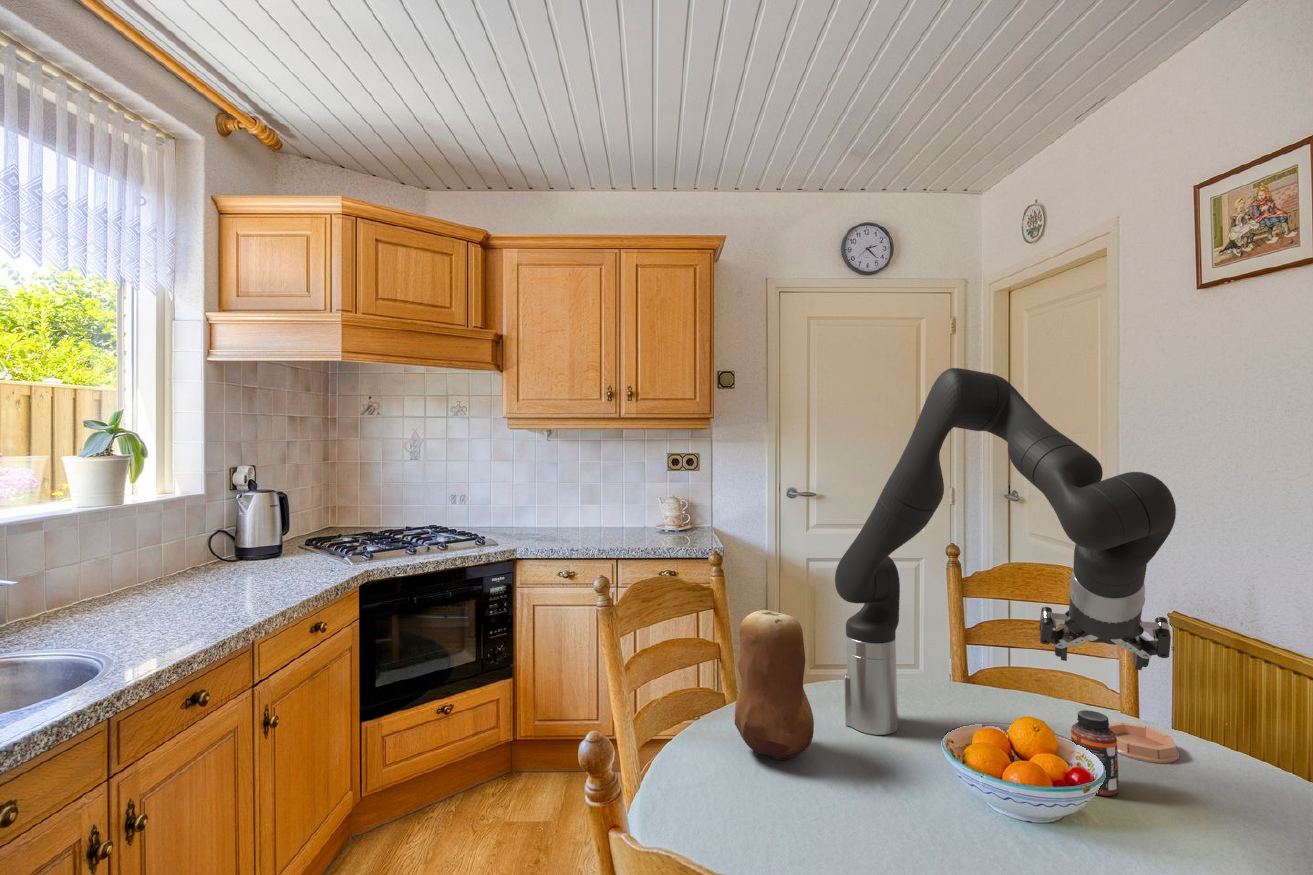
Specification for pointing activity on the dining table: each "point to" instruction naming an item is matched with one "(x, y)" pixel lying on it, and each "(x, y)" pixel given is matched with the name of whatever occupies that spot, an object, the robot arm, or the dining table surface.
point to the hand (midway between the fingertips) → (1098, 659)
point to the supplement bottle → (1098, 746)
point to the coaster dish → (1144, 743)
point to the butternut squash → (773, 686)
